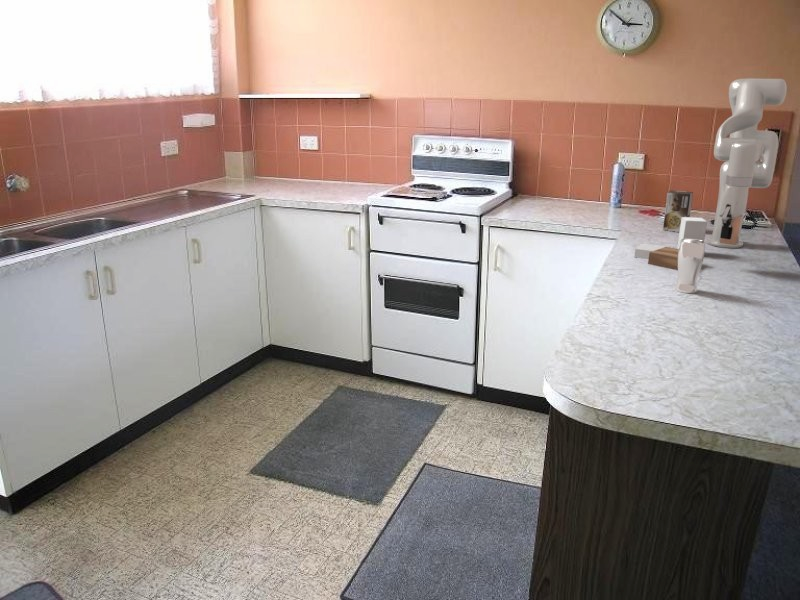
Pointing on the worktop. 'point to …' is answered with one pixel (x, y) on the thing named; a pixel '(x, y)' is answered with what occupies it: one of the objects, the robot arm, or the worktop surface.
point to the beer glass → (689, 264)
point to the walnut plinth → (664, 258)
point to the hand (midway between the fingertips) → (729, 236)
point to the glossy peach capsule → (733, 232)
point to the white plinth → (646, 250)
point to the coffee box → (677, 209)
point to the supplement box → (692, 229)
